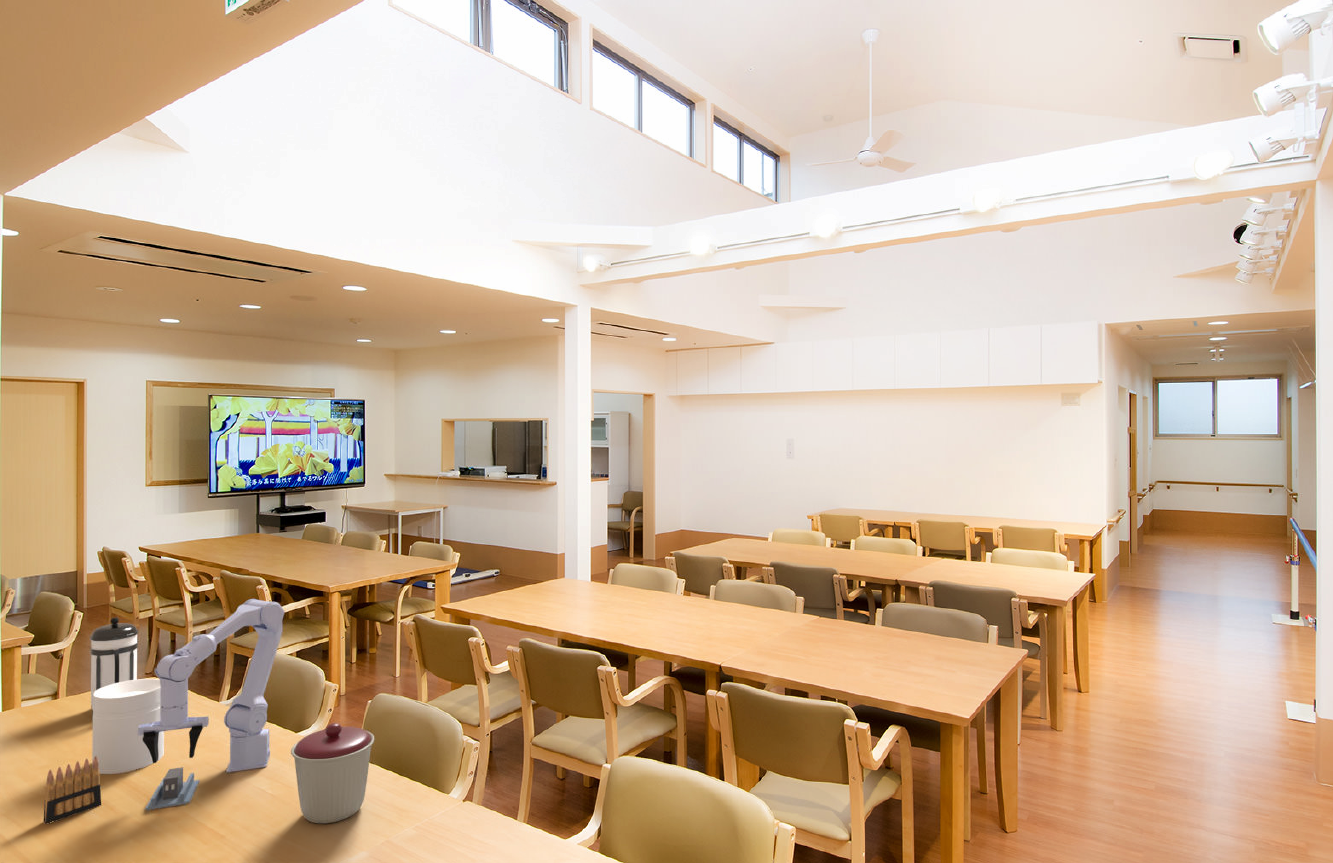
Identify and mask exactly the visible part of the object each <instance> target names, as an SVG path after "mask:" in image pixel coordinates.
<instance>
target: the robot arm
mask: <svg viewBox="0 0 1333 863" xmlns="http://www.w3.org/2000/svg"><path fill="white" fill-rule="evenodd" d="M285 613H286V612H285V610H284V608H283V606H282V605H281V604H280V603H279V602H276V601H268V600H267V601H265V600H260V599H256V598H251V599H248V600H246V601H244V603H242V604H240V605H239V606H238V607H237V609H236V611H235V612H234V613H232V614H231V615H230V616H228V618H226V619H225V620H224V621H223V622H221V623H220V624H218V625H217V626H216V627H215V628H214V629H213V630H212V631H210V632H209V633H208V634H204V633H202V634H199V635H195V636H193V637H192V638H191V639H192V640H191V641H189V642H188V643H187V644H185V645H184V646H182V647H181V648H178V649H177V650H175V652H174V653H173V654H168V655H165V656H164V657H162V658H161V659H160V661H158V663H157V666H156V668H154V674H155V676H156V677H157V678H158V679H159V680H160V721H158V722H153V723H149V724H143V725H140V726H139V727H138V735H143V734H144V736H143V738H142V739H143V742H144V743H145V745H146V746H147V748H148V749H149V751H150V754H151V757H152V761H153V764H157V762H158V761H159V760H158V737H159V732H162V731H164V732H169V731H176V730H184V729H185V730H186V729H190V730H189V732H188V736H189V752H188V754H189V756H188V757H189V759H192V758H194V757H195V751H196V748H197V743H198V740H199V738H200V735H201V733H202V732H203V731H202V730H203V729H204V728H207V727H208V726H209V723H210V722H209V720H210V719H209V716H194V717H193V716H191V717H190V716H188V715H189V711H188V710H189V708H188V707H189V677H191V676H192V674H193V672H194V670H195V668H196V667H197V666H198V665H199V664H200V663H202V662H203V661H204V660H206V659H207V658H208V657H210V656H211V655H212V654H213V653H215V652H216V650H217V647H218V644H220V643H222V642H223V641H224V640H225V639H227V638H228V637H230V636H231V635H233V634H235V633H236V632H237V631H239V630H240V629H242V628H243V627H252V628H254V629H253V630H255V631H256V632H257V635H258V638H257V641H256V644H255V647H254V651H253V655H252V658H251V661H250V664H249V667H248V671H247V674H246V677H245V680H244V684H243V686H242V690H241V693H240V694H239V695H238V696H236V697H235V698H234V699H233V700H232V703H231V705H230V706H229V708H228V709H227V711H226V713H225V715H224V718H223V724H224V725H225V727H226V728H228V733H230V734H229V735H230V736H229V738H230V739H229V750H230V751H229V763H228V765H227V768H226V773H233V772H239V771H246V770H248V771H249V770H254V769H261V768H265V767H267V766H268V762H269V758H270V756H271V749H270V729H269V728H264V727H265V725H266V724H267V720H268V714H267V711H268V706H269V705H268V703H267V701H266V699H265V697H264V694H265V692H266V688H267V684H268V681H269V678H270V676H271V671H272V668H273V665H274V661H275V658H276V654H277V652H278V648H279V645H280V641H281V638H282V635H283V631H284V630H283V619H284V615H285Z"/></svg>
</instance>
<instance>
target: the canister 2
mask: <svg viewBox="0 0 1333 863" xmlns="http://www.w3.org/2000/svg"><path fill="white" fill-rule="evenodd" d="M374 742H375V736H374V734H373V733H371V732H370V731H368V730H365V729H364V728H360V727H354V726H342V725H341V724H340V723H338V722H332V723H330V724H328V725H327V726H326V727H325V729H322V730H318V731H314V732H313V733H310V734H308V735H306V736H304V737H303V738H302V739H300V740H299V741H297V742H296V743H294V745H292V747H291V750H290V754H291V756H292V757H293V758H294V768H295V774H296V783H297V784H296V785H297V792H298V798H299V807H300V810H301V814H302V815H303V817H304V819H306V820H307V821H309V822H310V823H315V824H330V823H331V824H332V823H336V822H339V821H342V820H345V819H348V818H350V817H352V816H353V815H354V814H356V813H357V812H358V811H359V810H360V808H361V807H362V806H363V803H364V800H365V796H366V790H367V782H368V777H369V776H368V775H369V767H370V766H369V765H370V758H371V750H372V745H373V744H374Z"/></svg>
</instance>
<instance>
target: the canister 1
mask: <svg viewBox="0 0 1333 863" xmlns="http://www.w3.org/2000/svg"><path fill="white" fill-rule="evenodd" d="M158 721H160V679H159V678H137V679H136V680H129V681H124V682H119V683H115V684H111V685H108V686H105V687H102V688H100V689H98V690H96V691H95V692H94V693H93V709H92V741H91V742H92V746H91V747H92V749H91V750H92V752H91V754H92V755H91V756H92V758H91V761H92V762H91V763H92V764H91V767H92V766H93V760H94V757H95V756H97V758H98V763H99V772H100V775H113V774H123V773H129V772H134V771H136V769H137V770H140V769H144V768H145V767H146V768H147V767H149V766H150V764H151V765H153V764H154V763H153V761H152V757H151V754H150V751H149V749H148V748H147V746H146V745H145V743H144V742H143V739H142V738H143V736H144V734H143V735H138V727H139V726H140V725H143V724H149V723H153V722H158ZM164 752H165V731H162V732H159V737H158V761H160V760H161V759H162V758H163V757H164V755H165V753H164ZM162 756H163V757H162ZM161 757H162V758H161ZM152 763H153V764H152ZM139 768H140V769H139Z"/></svg>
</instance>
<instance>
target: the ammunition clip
mask: <svg viewBox="0 0 1333 863" xmlns="http://www.w3.org/2000/svg"><path fill="white" fill-rule="evenodd" d="M75 763H76V764H75V767H74V774H73V771H72V766H71V764H69V763H68V764H67V765H66V768H65V774H64V773H63V769H62V768H61V766H59V767H58V768H57V771H56V776H55V781H54V774H53V771H52V769H49V770H48V773H47V776H46V787H45V794H44V795H45V797H44V798H45V799H44V808H43V823H44V824H46V825H48V824H47V823H49V824H51V823H50V822H52V821H54V822H57V821H60V820H63V819H66V818H68V817H72V816H75V815H77V814H79V813H83V812H85V811H89V810H92V809H94V807H95V808H96V807H97V806H98V807H100V806H102V793H101V791H102V790H101V783H100V782H101V778H100V776H101V774H100V772H99V763H98V758H97V756H95V757H94V760H93V766H92V765H91V767H90V760H89V759H88V758H85V760H84V765H83V771H82V770H81V769H82V768H81V764H80V762H79V761H76V762H75ZM91 769H92V770H91ZM81 771H82V772H83V773H82V772H81ZM63 774H64V775H65V777H64V775H63ZM99 805H100V806H99ZM91 808H92V809H91ZM88 809H89V810H88ZM74 814H75V815H74ZM56 820H57V821H56ZM52 823H53V822H52Z"/></svg>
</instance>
